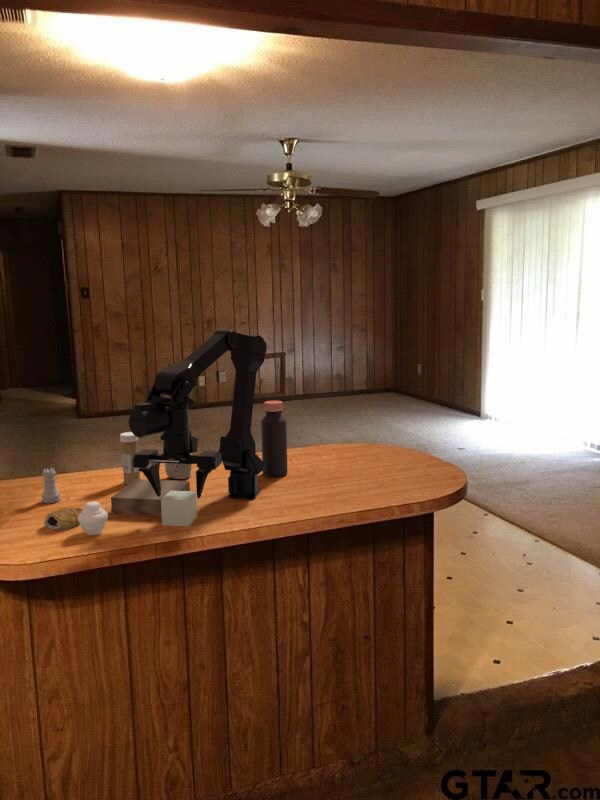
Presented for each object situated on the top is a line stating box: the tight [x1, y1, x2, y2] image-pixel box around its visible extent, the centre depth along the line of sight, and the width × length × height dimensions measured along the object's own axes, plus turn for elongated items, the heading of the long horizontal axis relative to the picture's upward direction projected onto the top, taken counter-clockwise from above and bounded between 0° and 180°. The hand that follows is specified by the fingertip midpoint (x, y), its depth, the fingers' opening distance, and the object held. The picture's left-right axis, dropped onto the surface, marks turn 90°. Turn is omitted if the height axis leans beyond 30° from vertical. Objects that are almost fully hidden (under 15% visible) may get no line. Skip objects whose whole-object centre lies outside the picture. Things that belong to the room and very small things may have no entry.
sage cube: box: [161, 490, 198, 527], centre depth 149 cm, size 6×6×6 cm
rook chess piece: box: [41, 467, 62, 504], centre depth 164 cm, size 4×4×8 cm
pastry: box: [43, 507, 83, 531], centre depth 149 cm, size 9×7×4 cm
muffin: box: [78, 501, 109, 536], centre depth 143 cm, size 6×6×7 cm
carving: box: [164, 453, 193, 480], centre depth 180 cm, size 6×8×12 cm
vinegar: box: [260, 400, 288, 478], centre depth 181 cm, size 7×7×20 cm
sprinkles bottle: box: [119, 431, 141, 486], centre depth 176 cm, size 5×5×14 cm
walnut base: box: [110, 478, 191, 517], centre depth 160 cm, size 14×14×4 cm
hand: (179, 496), depth 149 cm, fingers open, 9 cm apart
